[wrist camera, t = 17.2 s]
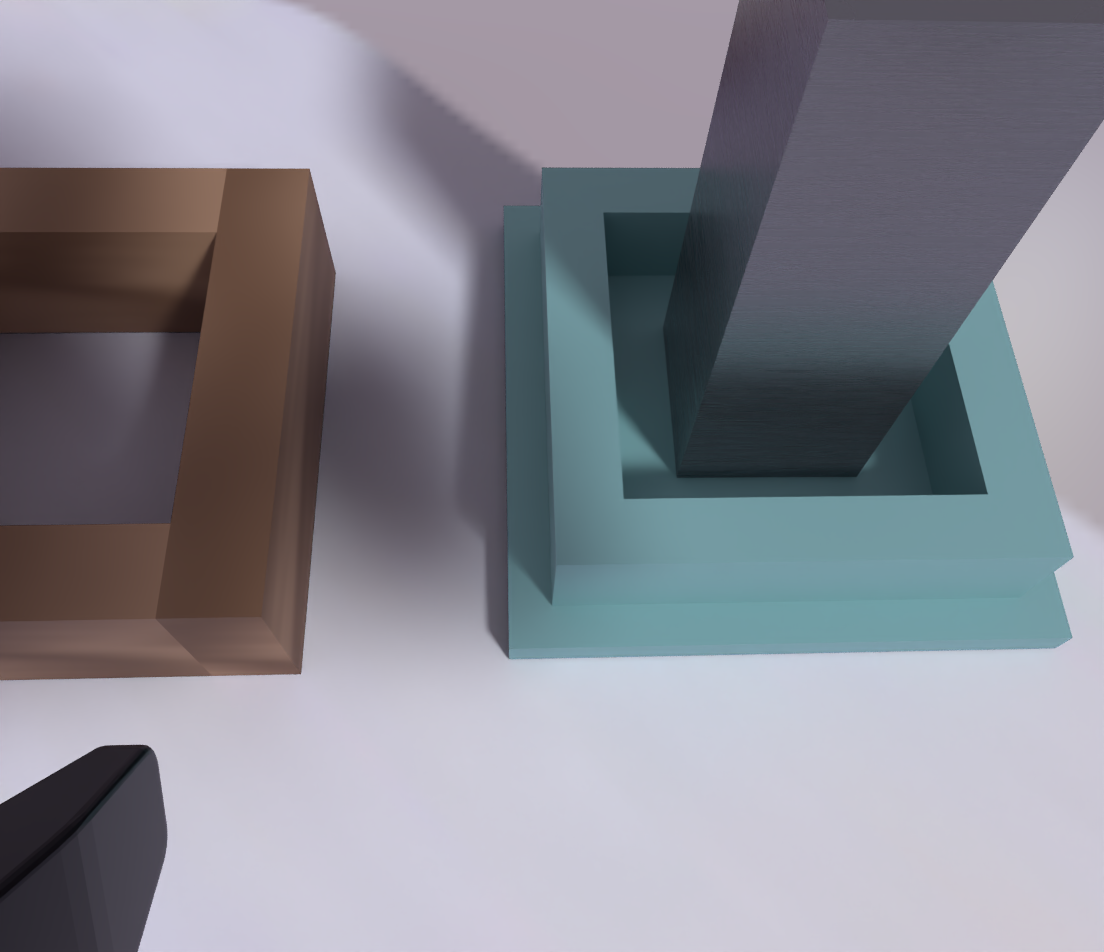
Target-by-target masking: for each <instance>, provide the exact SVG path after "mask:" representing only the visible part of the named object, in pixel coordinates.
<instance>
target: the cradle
mask: <svg viewBox="0 0 1104 952" xmlns="http://www.w3.org/2000/svg"><path fill="white" fill-rule="evenodd" d="M699 171H700V168H542V184H541V206H504V278H505V363H506V448H507V533H508V619H509V659H540V658H590V657H640V656H690V655H739V654H789V653H839V652H889V651H939V650H989V649H1039V648H1056V647H1058V646H1060V645H1061V644H1063V643H1065V642H1066V641H1068V640H1070V639H1071V638H1072V635H1071V631H1070V627H1069V624H1068V620H1067V617H1066V613H1065V610H1064V606H1063V603H1062V599H1061V596H1060V592H1059V588H1058V585H1057V581H1056V578H1055V574H1054V571H1056V570H1057V569H1058V568H1060V567H1061V566H1062V565H1064V564H1065V563H1066V562H1068V561H1069V560H1071V559H1072V558H1073V557H1074V556H1073V553H1072V550H1071V546H1070V543H1069V539H1068V536H1067V533H1066V529H1065V526H1064V522H1063V519H1062V516H1061V512H1060V509H1059V505H1058V502H1057V498H1056V495H1055V492H1054V488H1053V485H1052V481H1051V478H1050V475H1049V471H1048V468H1047V464H1046V461H1045V458H1044V454H1043V451H1042V447H1041V444H1040V441H1039V437H1038V434H1037V430H1036V427H1035V424H1034V420H1033V417H1032V413H1031V410H1030V407H1029V403H1028V400H1027V396H1026V393H1025V390H1024V386H1023V383H1022V380H1021V376H1020V372H1019V369H1018V366H1017V363H1016V359H1015V355H1014V352H1013V349H1012V345H1011V342H1010V338H1009V335H1008V332H1007V328H1006V325H1005V321H1004V318H1003V315H1002V311H1001V308H1000V304H999V301H998V298H997V294H996V291H995V288H994V284H993V281H992V282H991V283H990V285H989V286H988V288H987V289H986V291H985V292H984V293H983V295H982V296H981V298H980V299H979V301H978V302H977V304H976V305H975V306H974V308H973V309H972V311H971V312H970V314H969V315H968V317H967V318H966V319H965V321H964V322H963V324H962V325H961V327H960V328H959V330H958V331H957V333H956V334H955V335H954V337H953V338H952V340H951V341H950V343H949V344H948V346H947V347H946V348H945V350H944V351H943V353H942V354H941V356H940V357H939V359H938V360H937V361H936V363H935V364H934V366H933V367H932V369H931V370H930V372H929V373H928V374H927V376H926V377H925V379H924V380H923V382H922V383H921V385H920V386H919V387H918V389H917V390H916V392H915V393H914V395H913V396H912V398H911V399H910V400H909V402H908V403H907V405H906V406H905V408H904V409H903V411H902V412H901V414H900V415H899V416H898V418H897V419H896V421H895V422H894V424H893V425H892V427H891V428H890V429H889V431H888V432H887V434H886V435H885V437H884V438H883V440H882V441H881V442H880V444H879V445H878V447H877V448H876V450H875V451H874V453H873V454H872V455H871V457H870V458H869V460H868V461H867V463H866V464H865V466H864V467H863V468H862V470H861V471H860V473H859V474H858V476H857V477H725V478H677V476H676V465H675V454H674V443H673V432H672V421H671V410H670V399H669V388H668V377H667V366H666V355H665V344H664V333H663V325H664V321H665V317H666V312H667V308H668V304H669V300H670V295H671V291H672V287H673V282H674V278H675V274H676V270H677V265H678V261H679V257H680V252H681V248H682V244H683V240H684V235H685V231H686V227H687V222H688V218H689V214H690V210H691V205H692V201H693V197H694V192H695V188H696V184H697V180H698V175H699Z"/></svg>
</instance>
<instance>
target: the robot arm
mask: <svg viewBox="0 0 1104 952" xmlns="http://www.w3.org/2000/svg"><path fill="white" fill-rule="evenodd" d="M166 848H167V823H166V816H165V809H164V802H163V795H162V788H161V781H160V773H159V766H158V761H157V758H156V755H155V753H154V751H153V750H152V749H151V748H150V747H149V746H147V745H109V746H102V747H98V748H96V749H94V750H93V751H91V752H89V753H88V754H86V755H84V756H82V757H81V758H79V759H77V760H76V761H74V762H72V763H70V764H69V765H67V766H65V767H64V768H62V769H60V770H58V771H57V772H55V773H53V774H51V775H50V776H48V777H46V778H45V779H43V780H41V781H39V782H38V783H36V784H34V785H33V786H31V787H29V788H27V789H26V790H24V791H22V792H21V793H19V794H17V795H15V796H14V797H12V798H10V799H9V800H7V801H5V802H3V803H2V804H0V952H138V949H139V945H140V942H141V938H142V935H143V931H144V928H145V925H146V921H147V918H148V914H149V911H150V907H151V904H152V900H153V897H154V893H155V890H156V887H157V883H158V880H159V876H160V873H161V869H162V866H163V862H164V858H165V854H166Z"/></svg>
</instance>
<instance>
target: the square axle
mask: <svg viewBox="0 0 1104 952" xmlns="http://www.w3.org/2000/svg"><path fill="white" fill-rule="evenodd" d="M1103 120H1104V0H739V4H738V8H737V12H736V17H735V21H734V25H733V30H732V34H731V38H730V42H729V47H728V51H727V55H726V60H725V64H724V69H723V72H722V77H721V81H720V86H719V90H718V94H717V98H716V102H715V107H714V111H713V116H712V120H711V124H710V128H709V132H708V137H707V141H706V146H705V150H704V154H703V158H702V163H701V167H700V171H699V175H698V180H697V184H696V188H695V192H694V197H693V201H692V205H691V210H690V214H689V218H688V222H687V227H686V231H685V235H684V240H683V244H682V248H681V252H680V257H679V261H678V265H677V270H676V274H675V278H674V282H673V287H672V291H671V295H670V300H669V304H668V308H667V312H666V317H665V321H664V325H663V333H664V344H665V355H666V366H667V377H668V388H669V399H670V410H671V421H672V432H673V443H674V454H675V465H676V476H677V478H725V477H857V476H858V474H859V473H860V471H861V470H862V468H863V467H864V466H865V464H866V463H867V461H868V460H869V458H870V457H871V455H872V454H873V453H874V451H875V450H876V448H877V447H878V445H879V444H880V442H881V441H882V440H883V438H884V437H885V435H886V434H887V432H888V431H889V429H890V428H891V427H892V425H893V424H894V422H895V421H896V419H897V418H898V416H899V415H900V414H901V412H902V411H903V409H904V408H905V406H906V405H907V403H908V402H909V400H910V399H911V398H912V396H913V395H914V393H915V392H916V390H917V389H918V387H919V386H920V385H921V383H922V382H923V380H924V379H925V377H926V376H927V374H928V373H929V372H930V370H931V369H932V367H933V366H934V364H935V363H936V361H937V360H938V359H939V357H940V356H941V354H942V353H943V351H944V350H945V348H946V347H947V346H948V344H949V343H950V341H951V340H952V338H953V337H954V335H955V334H956V333H957V331H958V330H959V328H960V327H961V325H962V324H963V322H964V321H965V319H966V318H967V317H968V315H969V314H970V312H971V311H972V309H973V308H974V306H975V305H976V304H977V302H978V301H979V299H980V298H981V296H982V295H983V293H984V292H985V291H986V289H987V288H988V286H989V285H990V283H991V282H992V280H993V279H994V278H995V276H996V275H997V273H998V272H999V270H1000V269H1001V267H1002V266H1003V264H1004V263H1005V262H1006V260H1007V259H1008V257H1009V256H1010V254H1011V253H1012V251H1013V250H1014V249H1015V247H1016V246H1017V244H1018V243H1019V241H1020V240H1021V238H1022V237H1023V235H1024V234H1025V233H1026V231H1027V230H1028V228H1029V227H1030V225H1031V224H1032V223H1033V221H1034V220H1035V218H1036V217H1037V215H1038V214H1039V212H1040V211H1041V210H1042V208H1043V207H1044V205H1045V204H1046V202H1047V201H1048V199H1049V198H1050V196H1051V195H1052V194H1053V192H1054V191H1055V189H1056V188H1057V186H1058V185H1059V183H1060V182H1061V181H1062V179H1063V178H1064V176H1065V175H1066V173H1067V172H1068V171H1069V169H1070V168H1071V166H1072V164H1073V163H1074V162H1075V160H1076V159H1077V157H1078V156H1079V155H1080V153H1081V152H1082V150H1083V149H1084V147H1085V146H1086V144H1087V143H1088V142H1089V140H1090V139H1091V137H1092V136H1093V134H1094V133H1095V131H1096V130H1097V129H1098V127H1099V126H1100V124H1101V123H1102V121H1103Z"/></svg>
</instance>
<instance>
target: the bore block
mask: <svg viewBox="0 0 1104 952" xmlns="http://www.w3.org/2000/svg"><path fill="white" fill-rule="evenodd" d="M335 274H336V272H335V268H334V264H333V260H332V256H331V252H330V248H329V244H328V240H327V236H326V232H325V228H324V224H323V220H322V216H321V213H320V209H319V205H318V201H317V197H316V193H315V189H314V185H313V181H312V177H311V173H310V169H222V168H0V333H78V332H201V334H200V341H199V347H198V353H197V360H196V366H195V372H194V378H193V385H192V391H191V397H190V404H189V410H188V416H187V423H186V429H185V435H184V441H183V448H182V454H181V460H180V467H179V473H178V479H177V485H176V492H175V498H174V504H173V511H172V517H171V523H156V524H82V525H7V526H0V680H32V679H81V678H129V677H178V676H226V675H275V674H301V669H302V657H303V646H304V634H305V622H306V611H307V599H308V588H309V576H310V564H311V553H312V541H313V530H314V518H315V506H316V495H317V483H318V472H319V460H320V448H321V437H322V425H323V414H324V402H325V390H326V379H327V367H328V356H329V344H330V332H331V321H332V309H333V298H334V286H335Z"/></svg>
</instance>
